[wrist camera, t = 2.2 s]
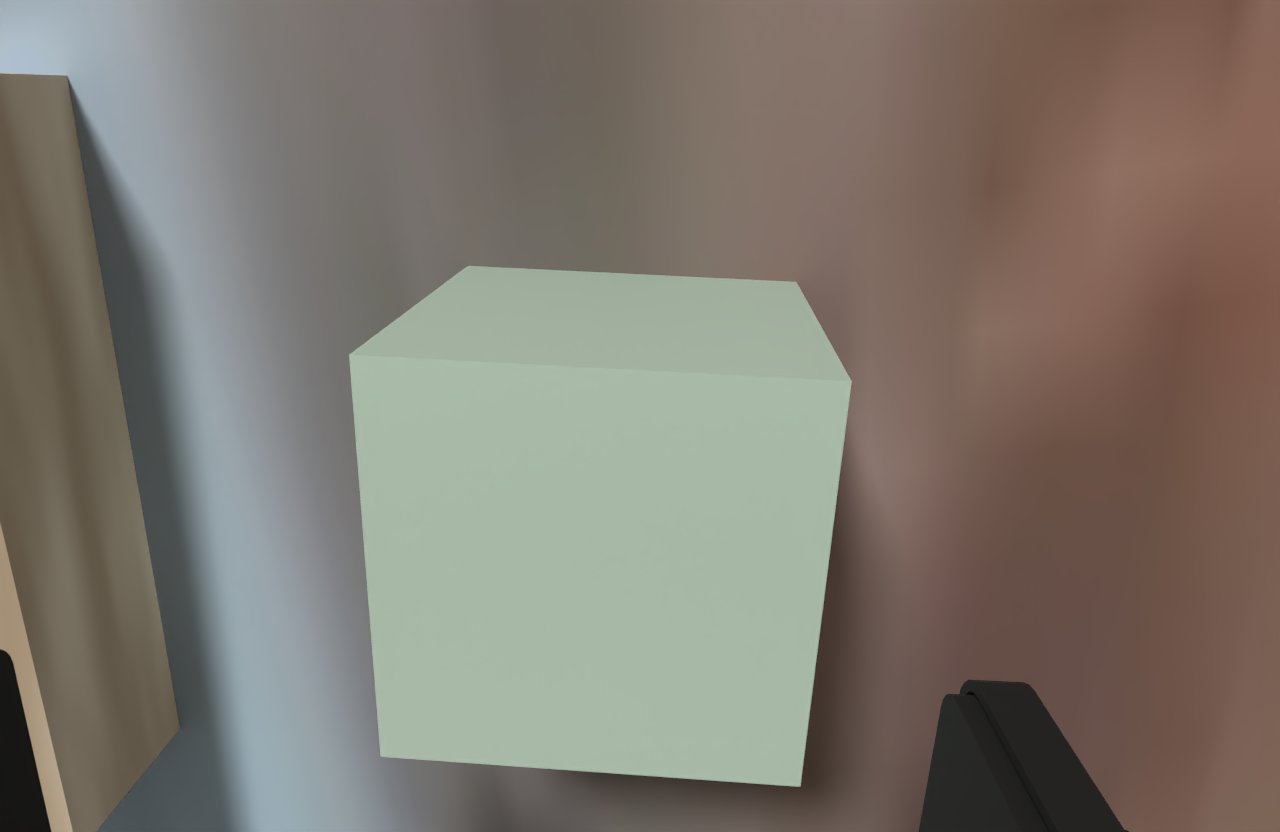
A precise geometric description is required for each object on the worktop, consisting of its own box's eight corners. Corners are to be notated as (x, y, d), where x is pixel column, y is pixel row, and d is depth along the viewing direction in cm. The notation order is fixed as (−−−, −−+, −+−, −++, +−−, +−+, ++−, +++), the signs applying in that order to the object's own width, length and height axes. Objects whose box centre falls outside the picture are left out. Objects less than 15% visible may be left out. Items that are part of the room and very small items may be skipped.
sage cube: (795, 281, 16) (851, 381, 10) (766, 571, 18) (799, 786, 12) (469, 265, 16) (350, 354, 11) (476, 553, 18) (380, 756, 13)
